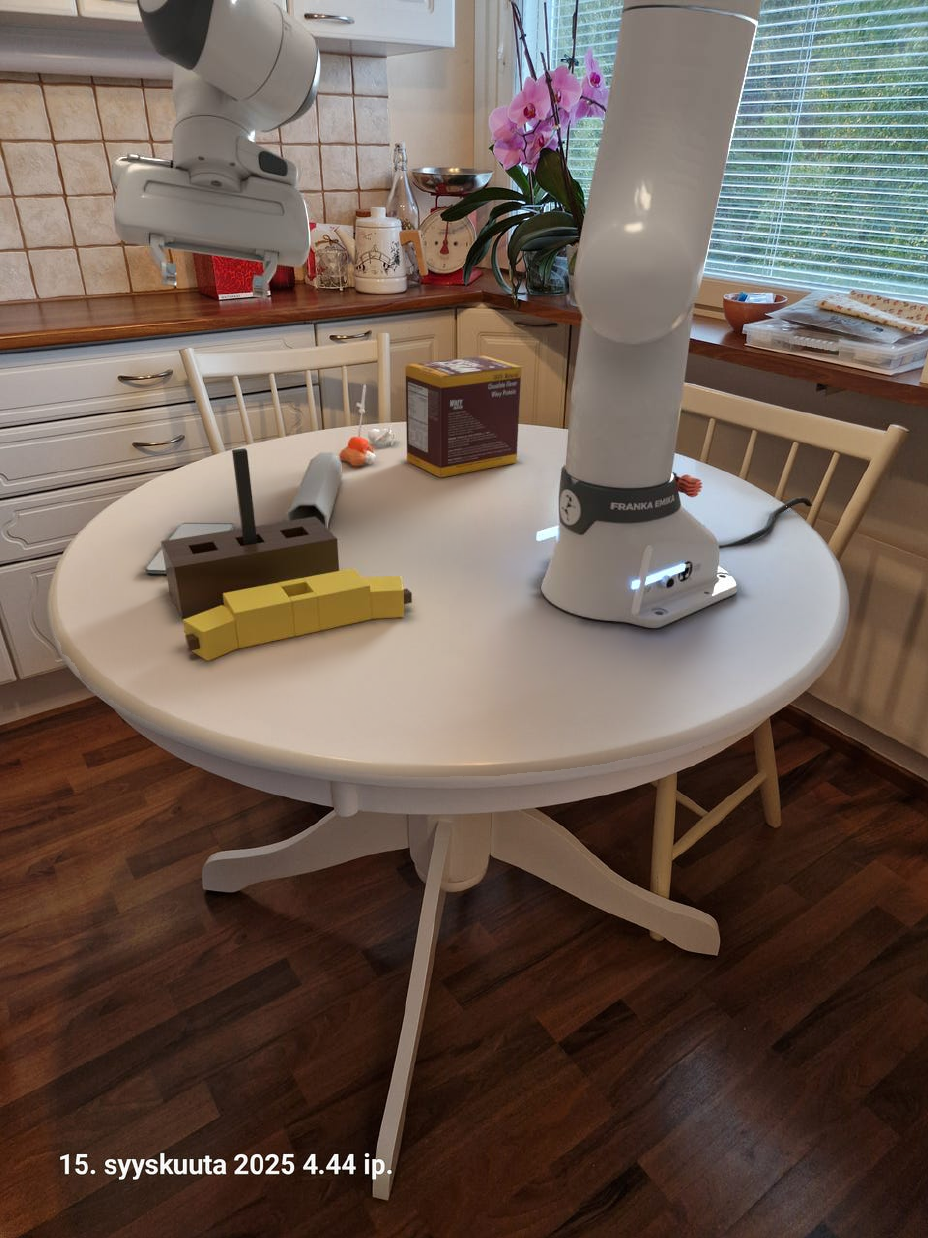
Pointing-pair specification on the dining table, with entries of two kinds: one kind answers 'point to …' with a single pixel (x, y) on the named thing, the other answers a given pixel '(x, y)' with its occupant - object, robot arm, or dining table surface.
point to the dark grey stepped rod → (244, 496)
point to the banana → (293, 610)
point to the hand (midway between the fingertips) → (215, 289)
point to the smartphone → (184, 531)
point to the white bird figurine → (380, 435)
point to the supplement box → (462, 414)
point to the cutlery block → (245, 561)
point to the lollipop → (358, 444)
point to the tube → (317, 489)
